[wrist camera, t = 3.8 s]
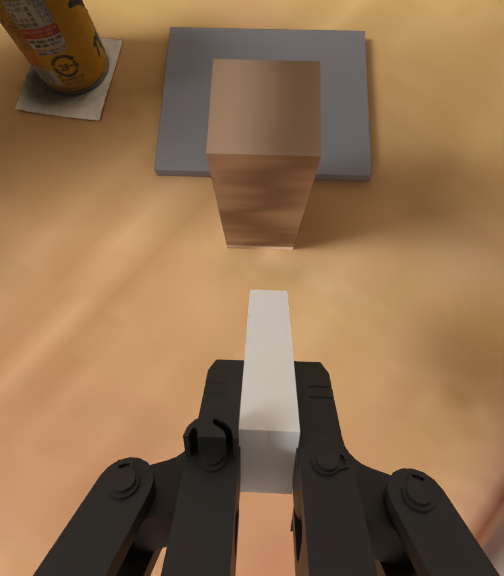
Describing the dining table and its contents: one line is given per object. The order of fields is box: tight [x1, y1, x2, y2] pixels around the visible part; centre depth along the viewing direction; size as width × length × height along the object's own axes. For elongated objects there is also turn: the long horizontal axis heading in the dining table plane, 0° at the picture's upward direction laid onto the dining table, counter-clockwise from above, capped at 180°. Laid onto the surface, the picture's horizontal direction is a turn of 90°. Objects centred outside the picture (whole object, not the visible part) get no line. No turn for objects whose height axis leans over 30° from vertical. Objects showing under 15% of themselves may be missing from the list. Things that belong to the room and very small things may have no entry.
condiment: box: [0, 0, 122, 121], centre depth 25 cm, size 7×8×12 cm
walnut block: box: [206, 59, 321, 250], centre depth 22 cm, size 5×5×12 cm
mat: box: [154, 27, 372, 181], centre depth 30 cm, size 17×14×1 cm
